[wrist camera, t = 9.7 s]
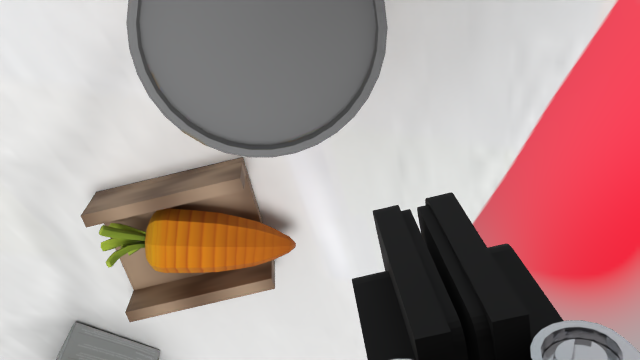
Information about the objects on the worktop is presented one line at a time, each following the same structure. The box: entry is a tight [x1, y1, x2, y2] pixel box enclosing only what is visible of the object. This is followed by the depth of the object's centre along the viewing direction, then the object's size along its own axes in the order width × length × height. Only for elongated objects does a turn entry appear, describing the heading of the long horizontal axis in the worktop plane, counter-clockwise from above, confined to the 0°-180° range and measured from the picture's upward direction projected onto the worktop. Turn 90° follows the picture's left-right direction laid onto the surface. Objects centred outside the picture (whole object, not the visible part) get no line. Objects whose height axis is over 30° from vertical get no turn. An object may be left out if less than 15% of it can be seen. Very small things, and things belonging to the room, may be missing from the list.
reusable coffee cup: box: [127, 0, 387, 157], centre depth 33 cm, size 13×13×15 cm
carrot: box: [99, 209, 296, 273], centre depth 44 cm, size 5×5×15 cm
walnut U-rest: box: [81, 157, 275, 322], centre depth 45 cm, size 12×10×4 cm
